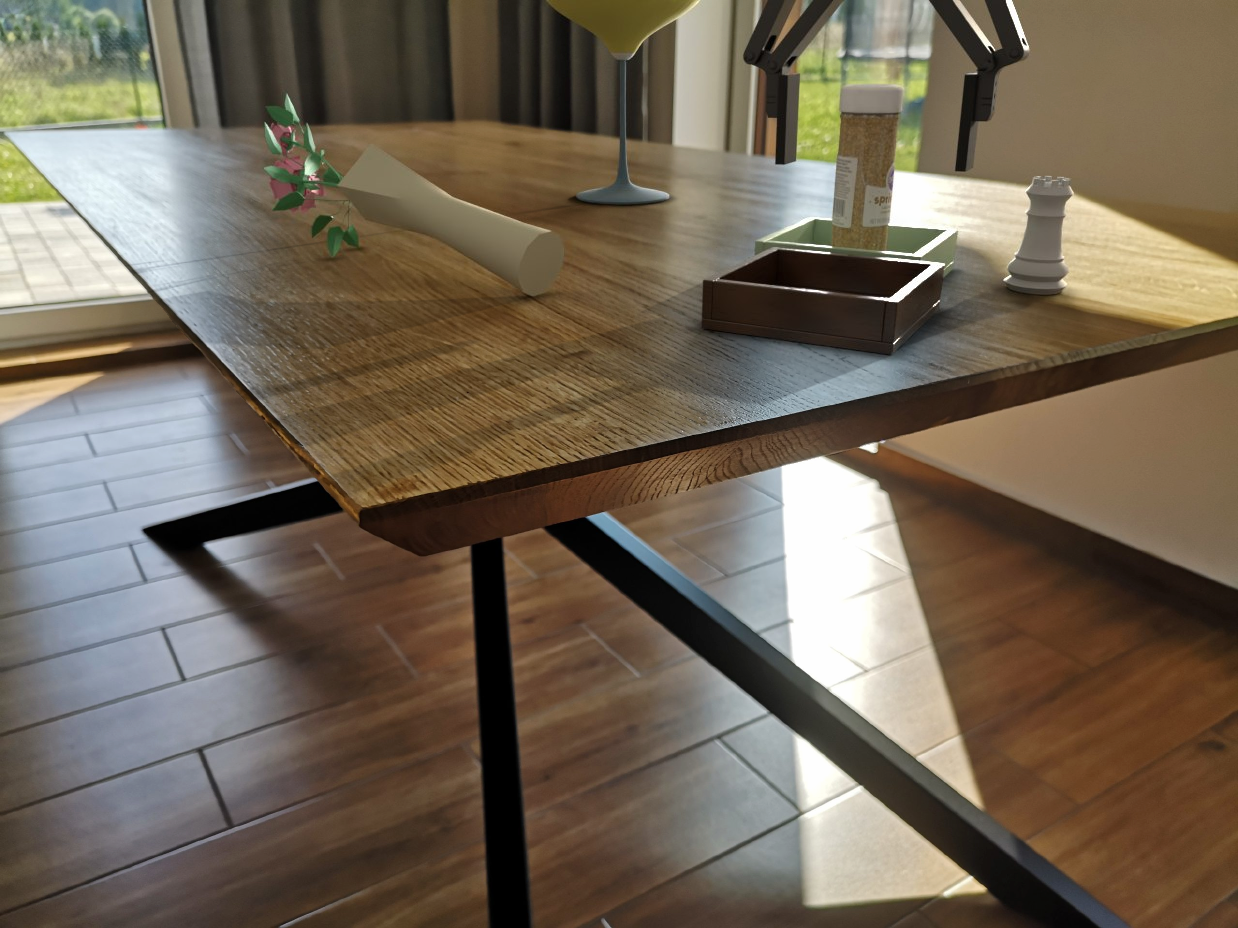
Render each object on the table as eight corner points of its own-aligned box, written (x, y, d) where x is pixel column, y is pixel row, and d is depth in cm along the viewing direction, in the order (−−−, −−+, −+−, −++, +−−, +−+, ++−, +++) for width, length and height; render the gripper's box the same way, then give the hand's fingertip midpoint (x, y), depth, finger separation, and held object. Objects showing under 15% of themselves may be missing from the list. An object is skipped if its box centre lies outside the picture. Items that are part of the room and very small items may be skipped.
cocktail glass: (536, 188, 126) (530, -38, 116) (680, 185, 129) (685, -36, 119) (555, 212, 110) (549, -49, 100) (718, 207, 113) (728, -47, 103)
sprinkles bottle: (888, 274, 78) (907, 86, 73) (827, 272, 79) (842, 85, 74) (883, 262, 82) (901, 83, 77) (825, 260, 83) (839, 82, 78)
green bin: (953, 269, 83) (958, 229, 82) (915, 301, 73) (921, 256, 72) (806, 254, 89) (809, 217, 87) (752, 283, 79) (755, 240, 77)
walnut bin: (939, 309, 71) (945, 263, 70) (892, 355, 61) (897, 302, 60) (770, 290, 76) (772, 246, 75) (701, 328, 66) (702, 279, 65)
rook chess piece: (1004, 280, 79) (1019, 173, 76) (1066, 285, 78) (1084, 176, 75) (1001, 292, 76) (1017, 180, 72) (1066, 297, 74) (1086, 183, 71)
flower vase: (494, 399, 76) (218, 241, 93) (601, 321, 83) (325, 186, 99) (475, 263, 68) (175, 116, 84) (596, 189, 75) (296, 66, 91)
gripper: (703, -148, 72) (699, 165, 80) (1088, -191, 61) (1039, 179, 69) (743, -135, 78) (736, 155, 86) (1101, -171, 67) (1054, 167, 75)
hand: (871, 166), depth 78 cm, fingers open, 13 cm apart
